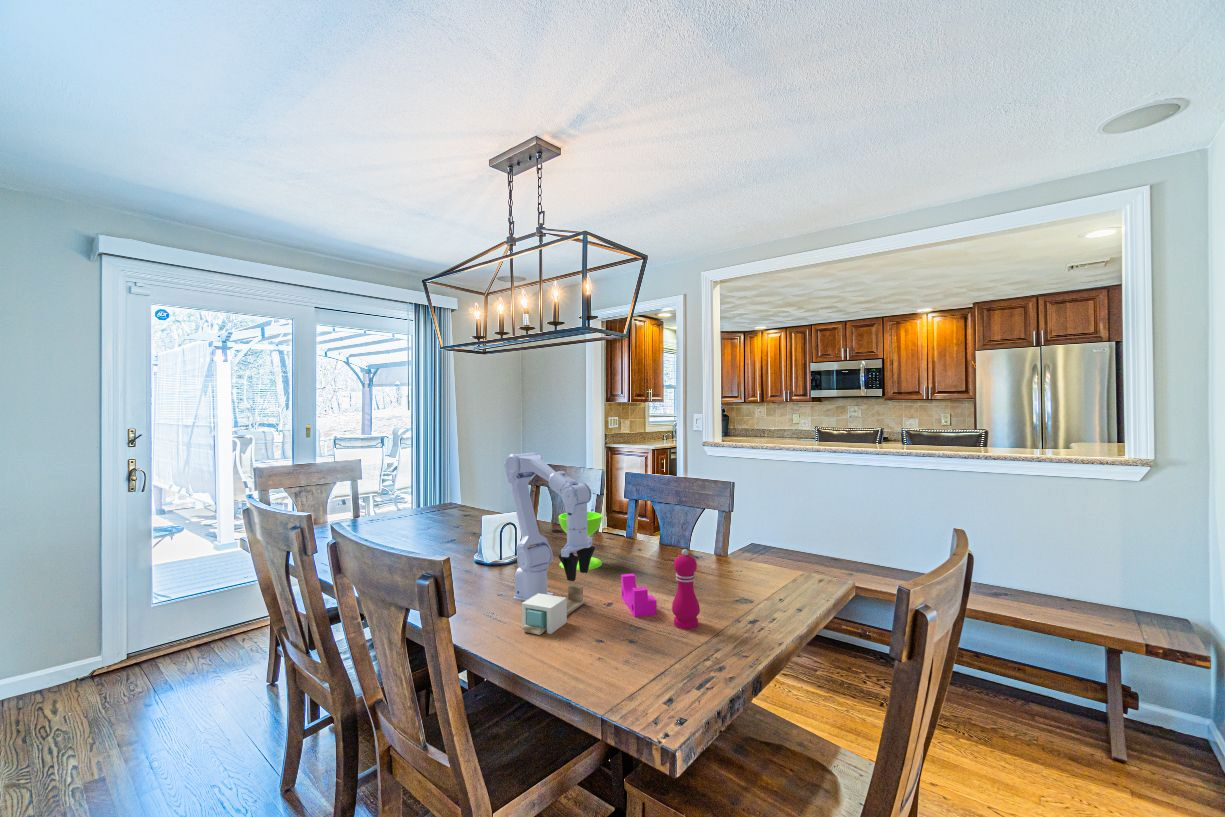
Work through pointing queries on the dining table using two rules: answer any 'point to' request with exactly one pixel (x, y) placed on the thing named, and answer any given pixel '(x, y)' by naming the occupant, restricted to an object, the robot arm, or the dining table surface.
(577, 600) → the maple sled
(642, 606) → the toy block
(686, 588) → the pepper mill
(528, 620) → the teal block
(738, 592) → the dining table surface
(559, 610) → the cream tunnel
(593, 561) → the wineglass
